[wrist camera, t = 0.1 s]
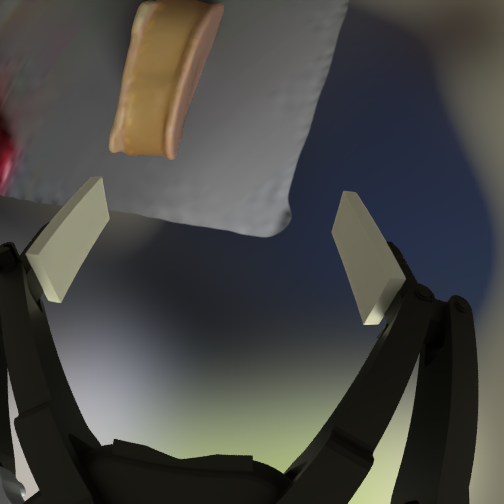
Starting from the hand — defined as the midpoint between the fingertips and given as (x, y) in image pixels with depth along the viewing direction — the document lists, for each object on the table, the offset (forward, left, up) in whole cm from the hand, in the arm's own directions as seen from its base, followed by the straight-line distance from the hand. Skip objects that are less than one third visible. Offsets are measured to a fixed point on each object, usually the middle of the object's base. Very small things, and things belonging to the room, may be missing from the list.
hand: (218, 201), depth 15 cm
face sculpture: (-5, -7, -28) cm, 30 cm away
